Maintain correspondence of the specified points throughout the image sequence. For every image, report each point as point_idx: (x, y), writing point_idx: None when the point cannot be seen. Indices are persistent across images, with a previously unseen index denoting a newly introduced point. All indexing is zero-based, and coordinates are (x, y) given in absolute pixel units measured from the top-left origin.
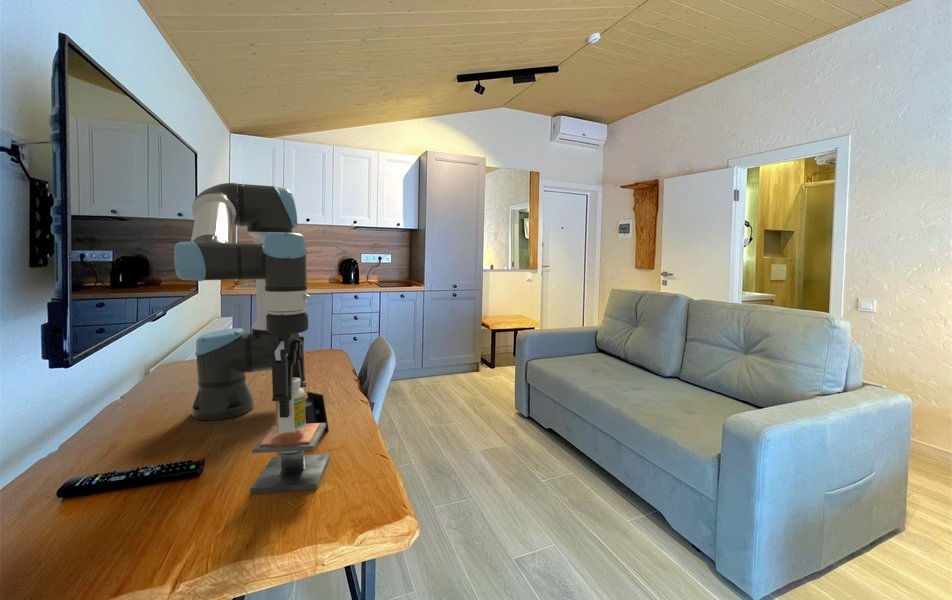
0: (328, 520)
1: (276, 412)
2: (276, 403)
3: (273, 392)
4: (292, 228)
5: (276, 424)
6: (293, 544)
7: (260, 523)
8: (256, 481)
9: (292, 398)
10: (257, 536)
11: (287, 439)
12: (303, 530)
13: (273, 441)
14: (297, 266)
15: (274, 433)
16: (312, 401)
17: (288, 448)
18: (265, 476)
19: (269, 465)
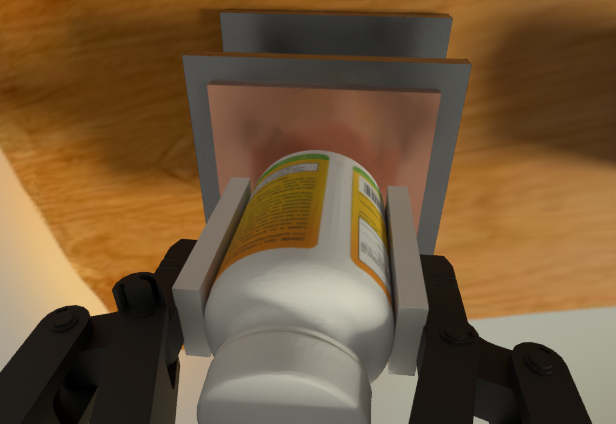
0: (120, 236)
1: (263, 202)
2: (243, 241)
3: (13, 362)
4: None
5: (292, 158)
6: (37, 184)
7: (91, 92)
8: (261, 19)
9: (206, 353)
10: (45, 102)
11: (254, 187)
12: (81, 195)
13: (235, 137)
14: None
15: (327, 116)
16: None
17: (203, 195)
18: (293, 42)
19: (377, 29)
